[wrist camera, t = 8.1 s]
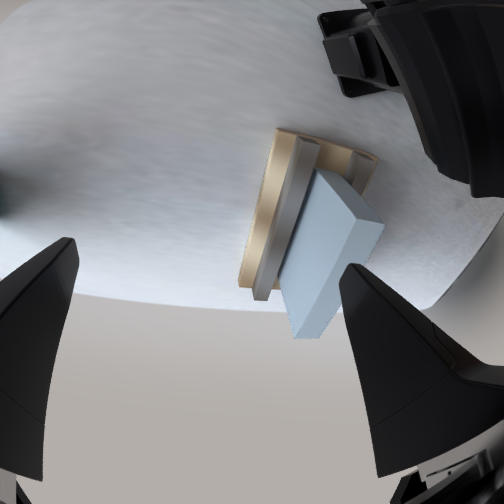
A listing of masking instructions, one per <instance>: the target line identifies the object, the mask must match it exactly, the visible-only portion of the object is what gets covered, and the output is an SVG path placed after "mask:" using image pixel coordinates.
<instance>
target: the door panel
mask: <svg viewBox="0 0 504 504" xmlns="http://www.w3.org/2000/svg"><path fill="white" fill-rule="evenodd" d="M385 225H386V224H385V223H384V222H383V221H382V220H381V218H380V217H379V216H378V215H377V214H376V213H375V211H374V210H373V209H372V208H371V207H370V206H369V205H368V204H367V203H366V201H365V200H364V199H363V198H362V197H361V196H360V195H359V194H358V193H357V192H356V191H355V190H354V189H353V188H352V187H351V185H350V184H349V183H348V182H347V181H346V180H345V179H344V178H343V177H342V176H341V175H340V174H339V173H338V172H334V171H330V170H326V169H321V168H317V167H314V168H313V171H312V174H311V177H310V180H309V183H308V187H307V190H306V193H305V196H304V198H303V201H302V204H301V207H300V210H299V213H298V216H297V219H296V222H295V225H294V228H293V231H292V234H291V236H290V239H289V242H288V245H287V248H286V251H285V253H284V256H283V259H282V262H281V265H280V267H279V270H278V273H277V276H278V280H279V284H280V287H281V291H282V295H283V298H284V302H285V306H286V309H287V313H288V317H289V321H290V324H291V328H292V332H293V336H294V339H306V338H307V339H308V338H319V337H320V336H321V335H322V333H323V332H324V330H325V329H326V327H327V326H328V324H329V322H330V321H331V319H332V318H333V316H334V315H335V313H336V312H337V310H338V308H339V307H340V305H341V304H342V301H341V296H340V291H339V280H340V278H341V276H342V274H343V272H344V270H345V268H346V267H347V265H348V264H349V263H359V264H361V265H362V266H364V265H365V263H366V261H367V259H368V258H369V256H370V254H371V252H372V250H373V248H374V246H375V245H376V243H377V241H378V239H379V237H380V235H381V233H382V231H383V229H384V227H385Z"/></svg>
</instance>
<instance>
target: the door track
mask: <svg viewBox="0 0 504 504" xmlns="http://www.w3.org/2000/svg"><path fill="white" fill-rule="evenodd" d="M377 161H378V158H376V157H375V156H374V155H372V154H369V153H366V152H363V151H360V150H357V149H354V148H351V147H348V146H344V145H341V144H338V143H334V142H331V141H327V140H323V139H320V138H316V137H312V136H308V135H304V134H300V133H296V132H291V131H287V130H283V129H278V128H276V131H275V135H274V139H273V143H272V147H271V151H270V155H269V158H268V162H267V166H266V170H265V174H264V178H263V182H262V186H261V190H260V194H259V198H258V202H257V206H256V210H255V214H254V218H253V222H252V225H251V229H250V233H249V237H248V241H247V245H246V249H245V253H244V258H243V262H242V266H241V270H240V274H239V278H238V283H239V287H244V288H252V291H253V297H254V300H259V301H267V300H268V297H269V295H270V292H271V289H277V290H281V287H280V284H279V280H278V276H277V273H278V270H279V267H280V265H281V262H282V259H283V256H284V253H285V251H286V248H287V245H288V242H289V239H290V236H291V234H292V231H293V228H294V225H295V222H296V219H297V216H298V213H299V210H300V207H301V204H302V201H303V198H304V196H305V193H306V190H307V187H308V183H309V180H310V177H311V174H312V171H313V168H314V167H317V168H321V169H326V170H330V171H334V172H338V173H339V174H340V175H341V176H342V177H343V178H344V179H345V180H346V181H347V182H348V183H349V184H350V185H351V187H352V188H353V189H354V190H355V191H356V192H357V193H358V194H359V195H360V196H361V197H362V198H363V196H364V193H365V191H366V189H367V186H368V184H369V181H370V179H371V176H372V174H373V171H374V169H375V166H376V163H377Z"/></svg>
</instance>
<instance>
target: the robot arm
mask: <svg viewBox="0 0 504 504" xmlns="http://www.w3.org/2000/svg"><path fill="white" fill-rule="evenodd" d="M360 1H361V2H362V3H363V4H365V5H366V7H367V8H368V9H354V10H343V11H334V12H326V13H322V14H320V15H319V16H318V18H317V20H318V23H319V25H320V28H321V30H322V33H323V36H324V40H323V45H324V47H325V50H326V53H327V56H328V59H329V62H330V65H331V68H332V71H333V73H334V74H335V75H337V77H338V80H339V83H340V87H341V90H342V93H343V95H344V96H346V97H349V98H353V97H357V96H362V95H366V94H371V93H375V92H380V91H385V90H391V91H395V92H399V93H402V94H404V95H405V98H406V100H407V103H408V105H409V108H410V110H411V113H412V115H413V118H414V121H415V123H416V126H417V129H418V132H419V135H420V138H421V141H422V144H423V147H424V151H425V153H426V155H427V156H428V157H429V158H430V159H431V160H432V162H433V163H434V164H435V165H437V168H438V171H439V172H440V173H442V174H443V175H445V176H447V177H449V178H451V179H453V180H456V181H459V182H462V183H465V184H470V190H471V196H472V197H474V198H482V197H500V198H504V0H360ZM323 17H326V18H327V19H328V22H325V21H324V20H323ZM348 88H351V93H350V94H348V92H347V90H348ZM78 268H79V255H78V251H77V246H76V242H75V240H74V239H73V238H68V237H63V238H61V239H59V240H58V241H56V242H55V243H53V244H52V245H50V246H49V247H47V248H46V249H44V250H43V251H41V252H40V253H38V254H37V255H35V256H34V257H32V258H31V259H30V260H28V261H27V262H25V263H24V264H23V265H21V266H20V267H19V268H17V269H16V270H15V271H13V272H12V273H11V274H9V275H8V276H7V277H5V278H4V279H3V280H2V281H0V504H31V502H30V500H29V499H28V498H27V496H26V495H25V493H24V492H23V490H22V489H21V487H20V485H19V484H18V482H17V481H16V474H18V475H21V476H24V477H27V478H30V479H34V480H38V481H42V480H43V472H42V471H43V442H44V428H45V425H44V424H45V416H46V409H47V401H48V395H49V388H50V383H51V377H52V372H53V367H54V363H55V358H56V354H57V350H58V346H59V342H60V338H61V334H62V330H63V327H64V323H65V319H66V316H67V313H68V310H69V306H70V302H71V297H72V293H73V288H74V284H75V280H76V276H77V272H78ZM339 291H340V296H341V301H342V307H343V313H344V318H345V323H346V328H347V331H348V335H349V339H350V343H351V346H352V350H353V354H354V358H355V362H356V366H357V370H358V375H359V379H360V383H361V388H362V392H363V397H364V402H365V406H366V411H367V416H368V421H369V426H370V432H371V438H372V444H373V449H374V456H375V463H376V469H377V475H378V478H381V477H384V476H387V475H391V474H393V473H397V472H399V471H402V470H405V469H408V468H411V467H413V466H416V465H417V468H418V469H417V470H415V471H413V472H411V473H409V474H408V475H406V476H404V477H402V478H401V480H400V483H399V485H398V487H397V489H396V491H395V493H394V495H393V497H392V499H391V501H390V504H504V366H495V365H488V364H485V363H483V362H481V361H480V360H479V359H477V358H476V357H475V356H473V355H472V354H471V353H469V351H467V350H466V349H465V348H463V347H462V346H461V345H460V344H458V343H457V342H456V341H455V340H453V339H452V338H451V337H450V336H448V335H447V334H446V333H445V332H444V331H443V330H441V329H440V328H439V327H438V326H437V325H436V324H434V323H433V322H431V320H429V319H428V318H427V317H426V316H425V315H424V314H423V313H421V312H420V311H419V310H418V309H417V308H415V307H414V306H413V305H412V304H411V303H409V302H408V301H407V300H406V299H404V298H403V297H402V296H401V295H399V294H398V293H397V292H396V291H394V290H393V289H392V288H391V287H389V286H388V285H387V284H386V283H384V282H383V281H382V280H381V279H379V278H378V277H377V276H375V275H374V274H373V273H372V272H370V271H369V270H368V269H366V268H365V267H364V266H362V265H361V264H359V263H349V264H348V265H347V267H346V268H345V270H344V272H343V274H342V276H341V278H340V280H339Z"/></svg>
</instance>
